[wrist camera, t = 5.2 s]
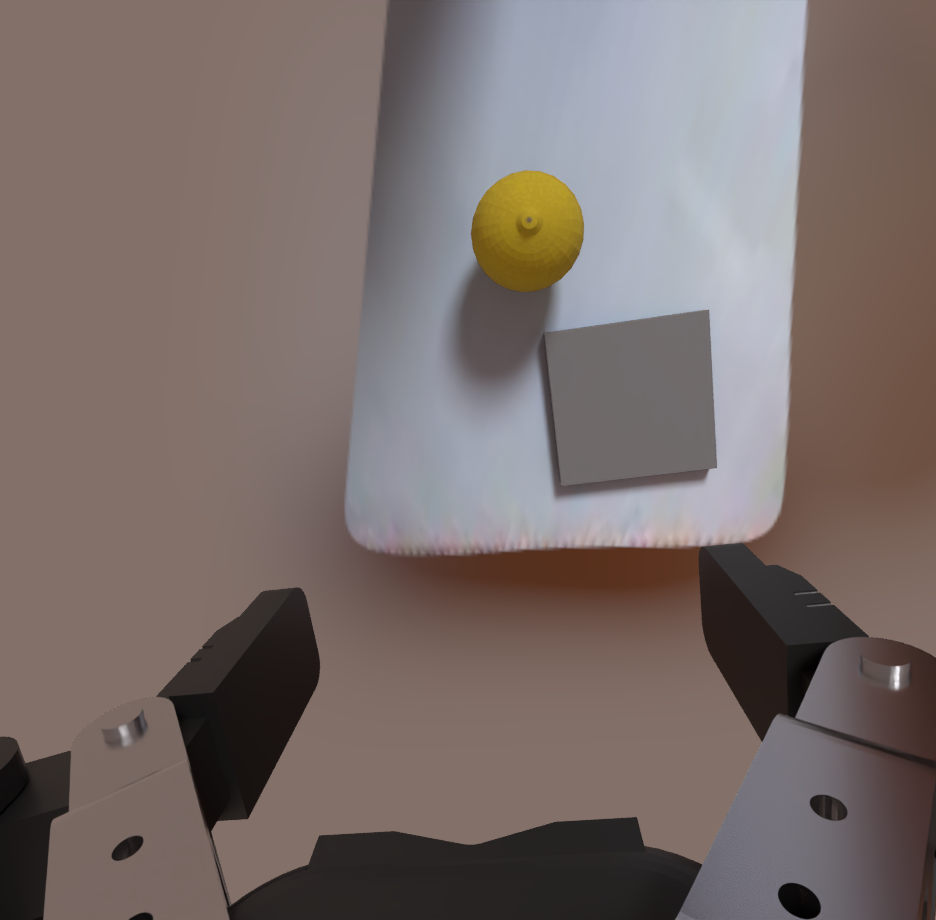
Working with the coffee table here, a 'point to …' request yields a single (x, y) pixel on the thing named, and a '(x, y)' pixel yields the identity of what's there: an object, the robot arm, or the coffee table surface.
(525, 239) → the lemon
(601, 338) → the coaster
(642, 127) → the coffee table surface
